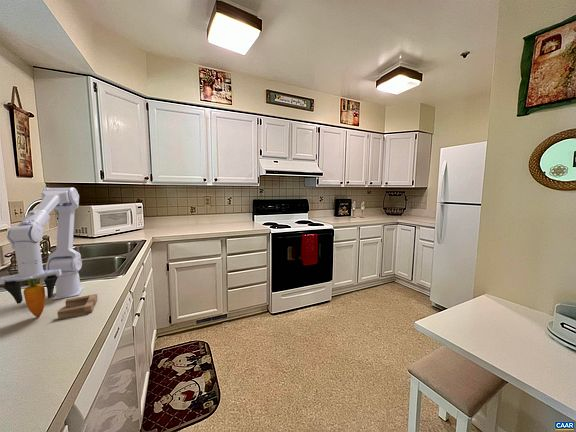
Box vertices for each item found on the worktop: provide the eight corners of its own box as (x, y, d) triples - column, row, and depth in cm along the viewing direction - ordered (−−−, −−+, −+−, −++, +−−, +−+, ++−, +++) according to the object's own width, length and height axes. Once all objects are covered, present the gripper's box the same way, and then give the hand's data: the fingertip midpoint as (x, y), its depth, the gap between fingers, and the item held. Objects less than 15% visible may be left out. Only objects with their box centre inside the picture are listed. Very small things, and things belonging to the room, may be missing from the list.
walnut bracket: (67, 305, 93) (66, 299, 92) (97, 299, 97) (96, 293, 97) (58, 319, 83) (57, 312, 83) (91, 312, 87) (91, 305, 87)
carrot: (47, 311, 88) (41, 271, 86) (49, 316, 85) (43, 274, 83) (27, 317, 84) (20, 275, 82) (28, 322, 81) (21, 279, 79)
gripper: (-9, 268, 75) (-2, 310, 77) (54, 260, 82) (60, 299, 84) (3, 261, 81) (9, 301, 83) (61, 255, 88) (66, 291, 90)
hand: (35, 299), depth 84 cm, fingers open, 7 cm apart
